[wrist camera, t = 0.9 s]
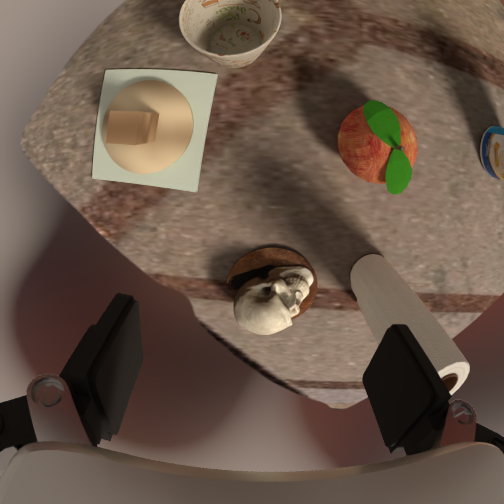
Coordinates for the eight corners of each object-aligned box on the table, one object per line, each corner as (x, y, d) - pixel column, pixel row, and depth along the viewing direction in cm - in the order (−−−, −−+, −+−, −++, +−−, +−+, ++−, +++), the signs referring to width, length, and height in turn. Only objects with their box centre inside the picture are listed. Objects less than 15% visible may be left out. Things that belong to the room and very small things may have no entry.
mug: (183, 56, 26) (158, 31, 17) (247, -17, 22) (247, -60, 13) (244, 90, 28) (242, 74, 19) (306, 15, 24) (327, -20, 15)
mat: (107, 70, 26) (105, 69, 26) (217, 74, 28) (217, 74, 27) (93, 177, 32) (92, 178, 32) (197, 191, 33) (196, 192, 33)
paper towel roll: (374, 244, 36) (464, 352, 17) (394, 272, 38) (475, 378, 18) (334, 278, 38) (392, 406, 19) (357, 303, 40) (414, 422, 21)
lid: (113, 81, 27) (83, 73, 20) (201, 84, 28) (188, 73, 21) (102, 167, 31) (71, 179, 25) (185, 177, 32) (169, 191, 25)
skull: (301, 228, 34) (332, 308, 30) (306, 257, 44) (329, 321, 39) (207, 261, 35) (228, 343, 31) (232, 283, 45) (250, 347, 41)
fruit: (385, 100, 28) (431, 95, 19) (398, 174, 32) (443, 193, 23) (320, 108, 29) (349, 102, 20) (337, 186, 33) (368, 210, 24)
